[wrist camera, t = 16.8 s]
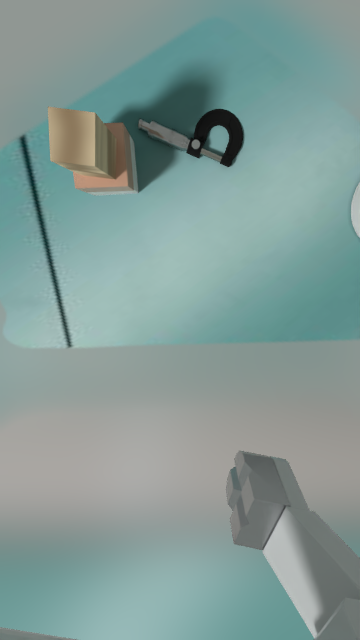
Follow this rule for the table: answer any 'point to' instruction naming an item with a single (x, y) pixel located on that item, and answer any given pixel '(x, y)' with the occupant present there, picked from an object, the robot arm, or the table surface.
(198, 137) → the micrometer
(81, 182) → the terracotta tower block
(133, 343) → the table surface
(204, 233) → the table surface
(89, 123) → the oak block
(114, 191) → the off-white tower block
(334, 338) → the table surface
